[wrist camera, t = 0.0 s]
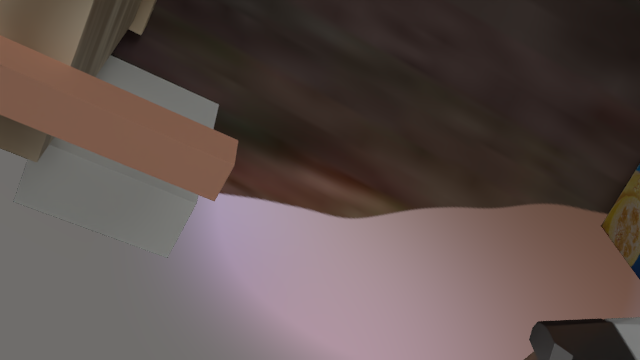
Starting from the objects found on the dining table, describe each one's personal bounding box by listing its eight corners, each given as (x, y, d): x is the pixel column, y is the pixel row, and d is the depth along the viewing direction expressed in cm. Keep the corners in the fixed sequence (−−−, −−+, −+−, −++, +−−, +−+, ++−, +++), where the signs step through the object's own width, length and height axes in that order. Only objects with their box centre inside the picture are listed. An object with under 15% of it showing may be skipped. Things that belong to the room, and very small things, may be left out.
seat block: (80, 102, 58) (13, 201, 44) (99, 50, 56) (34, 138, 41) (195, 151, 62) (167, 258, 48) (218, 104, 59) (196, 203, 45)
